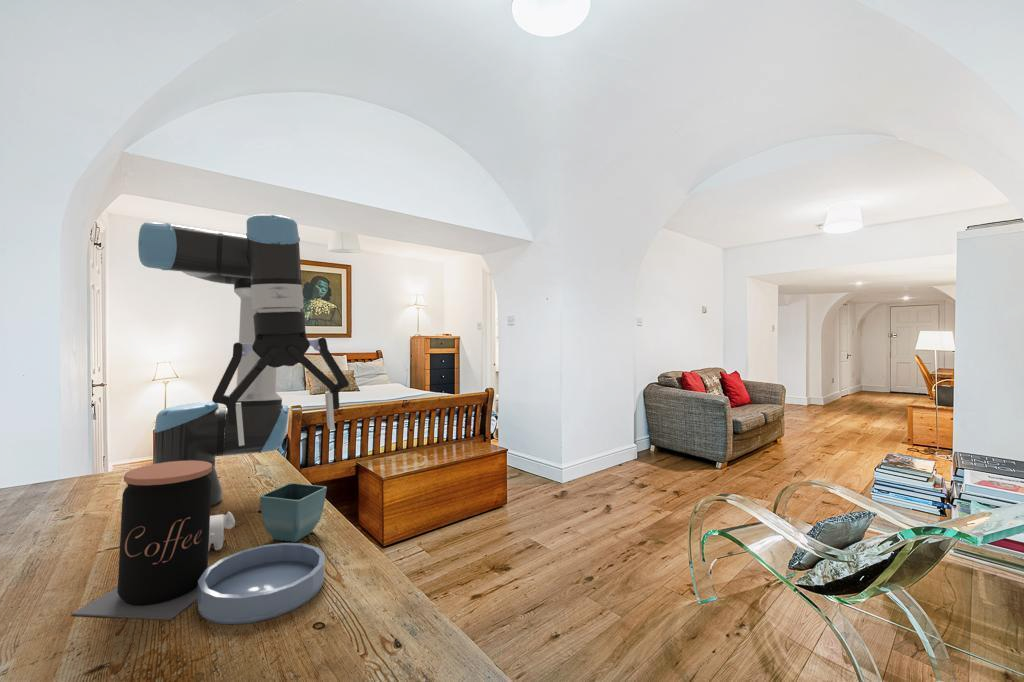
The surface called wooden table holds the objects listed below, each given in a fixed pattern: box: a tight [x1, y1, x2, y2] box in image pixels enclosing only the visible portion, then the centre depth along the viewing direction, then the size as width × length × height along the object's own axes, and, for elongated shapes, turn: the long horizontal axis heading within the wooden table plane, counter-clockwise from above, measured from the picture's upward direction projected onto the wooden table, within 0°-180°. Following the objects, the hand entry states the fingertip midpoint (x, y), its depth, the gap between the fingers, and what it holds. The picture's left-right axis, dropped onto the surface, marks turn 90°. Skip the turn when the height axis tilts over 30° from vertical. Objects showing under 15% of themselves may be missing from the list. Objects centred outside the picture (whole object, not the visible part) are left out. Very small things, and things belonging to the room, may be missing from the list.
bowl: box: [196, 542, 326, 625], centre depth 66 cm, size 17×17×4 cm
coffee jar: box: [117, 460, 212, 606], centre depth 65 cm, size 11×11×18 cm
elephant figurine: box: [208, 511, 236, 552], centre depth 79 cm, size 7×8×6 cm
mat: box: [71, 565, 211, 621], centre depth 65 cm, size 14×14×1 cm
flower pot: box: [259, 482, 328, 543], centre depth 85 cm, size 9×9×9 cm
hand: (288, 435), depth 73 cm, fingers open, 13 cm apart
